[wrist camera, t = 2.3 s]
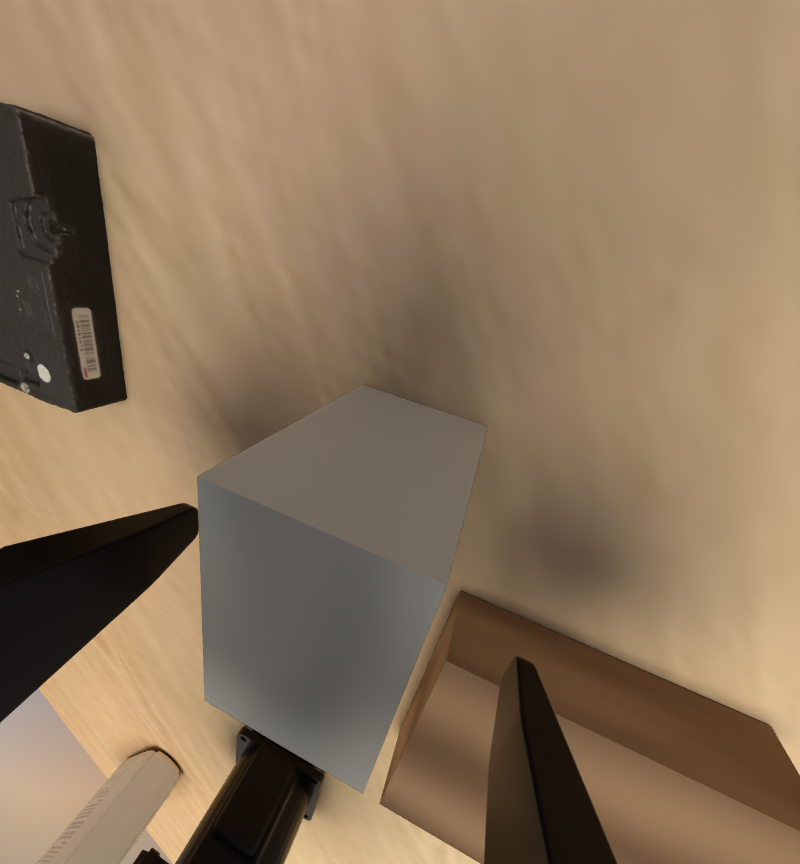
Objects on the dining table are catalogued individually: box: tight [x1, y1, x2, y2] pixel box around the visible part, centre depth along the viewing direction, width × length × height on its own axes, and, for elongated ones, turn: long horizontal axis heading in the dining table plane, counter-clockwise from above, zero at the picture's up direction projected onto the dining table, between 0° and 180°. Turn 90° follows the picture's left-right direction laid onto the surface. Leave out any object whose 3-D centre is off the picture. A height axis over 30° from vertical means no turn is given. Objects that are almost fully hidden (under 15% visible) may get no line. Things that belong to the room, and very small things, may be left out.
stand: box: [380, 591, 800, 864], centre depth 14 cm, size 11×11×3 cm
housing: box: [197, 385, 488, 794], centre depth 10 cm, size 7×4×7 cm, turn 167°
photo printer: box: [36, 751, 180, 864], centre depth 28 cm, size 10×4×12 cm, turn 135°
